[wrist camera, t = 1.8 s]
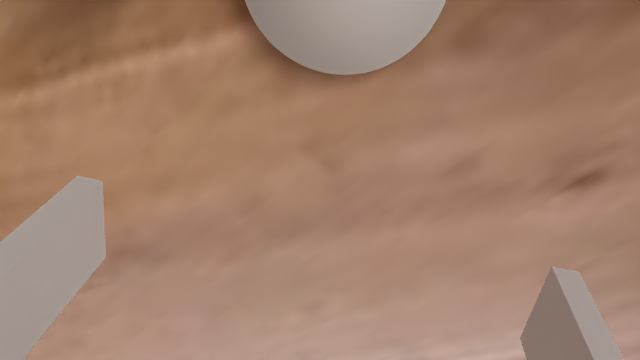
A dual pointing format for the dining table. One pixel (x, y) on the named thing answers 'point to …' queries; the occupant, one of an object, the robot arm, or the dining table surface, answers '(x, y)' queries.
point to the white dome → (345, 30)
